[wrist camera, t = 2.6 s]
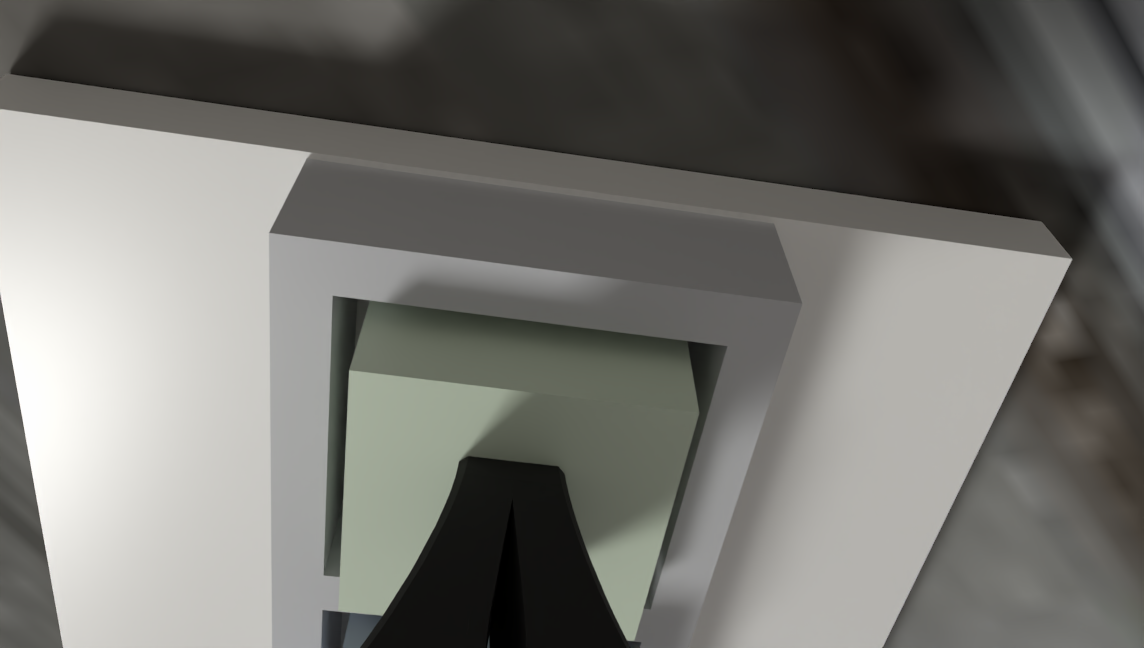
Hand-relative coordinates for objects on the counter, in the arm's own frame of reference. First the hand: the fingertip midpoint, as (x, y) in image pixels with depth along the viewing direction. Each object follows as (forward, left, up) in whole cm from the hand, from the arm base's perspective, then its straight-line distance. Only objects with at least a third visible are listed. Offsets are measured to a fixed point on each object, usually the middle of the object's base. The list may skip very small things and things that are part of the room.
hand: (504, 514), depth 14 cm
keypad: (0, +9, -4) cm, 10 cm away
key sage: (0, 0, -2) cm, 2 cm away
